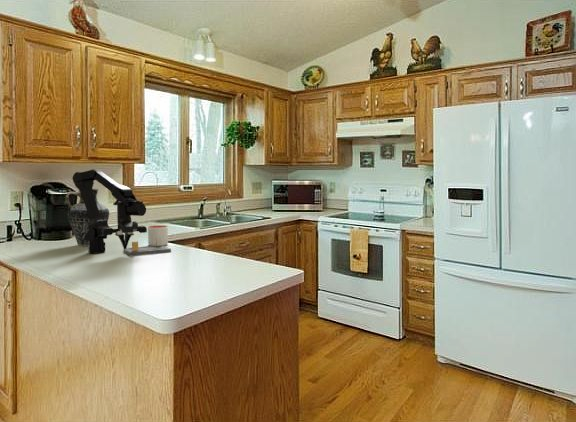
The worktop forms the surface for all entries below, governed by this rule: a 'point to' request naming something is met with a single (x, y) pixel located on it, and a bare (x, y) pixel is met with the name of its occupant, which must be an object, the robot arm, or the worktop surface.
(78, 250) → the worktop surface
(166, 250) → the grey rectangular panel
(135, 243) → the fader
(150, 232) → the cup
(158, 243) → the fader
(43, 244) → the worktop surface
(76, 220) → the dark patterned vase
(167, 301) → the worktop surface
